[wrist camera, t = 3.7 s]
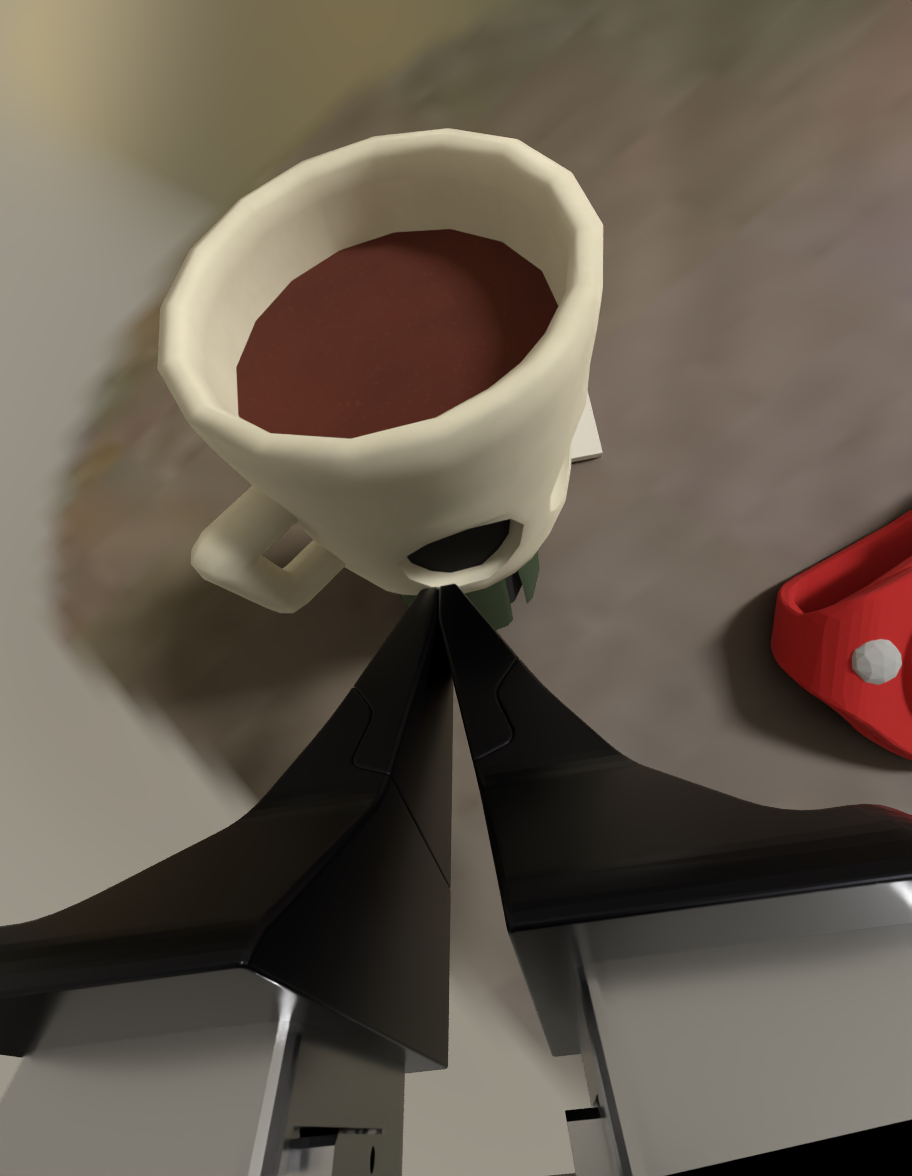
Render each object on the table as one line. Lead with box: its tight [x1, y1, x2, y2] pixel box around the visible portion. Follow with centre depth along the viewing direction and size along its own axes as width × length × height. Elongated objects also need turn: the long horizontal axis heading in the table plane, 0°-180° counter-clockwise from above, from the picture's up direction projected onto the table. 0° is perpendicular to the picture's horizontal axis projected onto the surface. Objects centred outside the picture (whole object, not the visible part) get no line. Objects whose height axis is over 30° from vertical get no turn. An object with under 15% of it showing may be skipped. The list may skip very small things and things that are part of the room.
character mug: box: [157, 128, 603, 630], centre depth 12 cm, size 11×7×13 cm, turn 137°
